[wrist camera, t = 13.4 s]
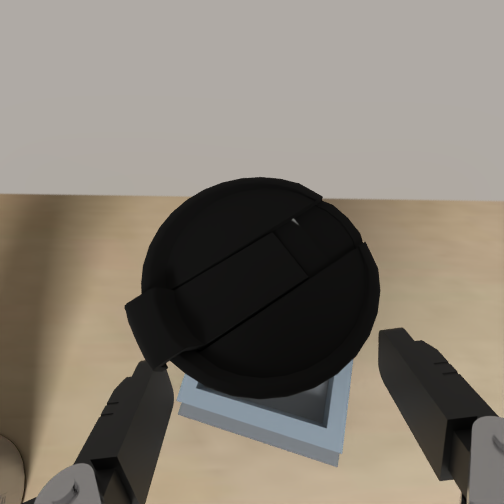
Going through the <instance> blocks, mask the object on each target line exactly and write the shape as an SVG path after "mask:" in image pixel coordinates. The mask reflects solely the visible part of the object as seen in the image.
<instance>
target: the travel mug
mask: <svg viewBox="0 0 504 504" xmlns="http://www.w3.org/2000/svg"><path fill="white" fill-rule="evenodd" d="M322 198H323V197H322V196H321V195H319V194H317V193H315V192H314V191H312V190H310V189H308V188H306V187H305V186H303V185H301V184H299V183H295V182H291V181H287V180H283V179H276V178H265V177H256V178H241V179H237V180H232V181H228V182H223V183H220V184H217V185H215V186H212V187H210V188H207V189H205V190H203V191H201V192H199V193H198V194H196V195H195V196H193V197H191V198H189V199H188V200H186V201H185V202H184V203H183V204H182V205H180V206H179V207H178V208H177V209H176V210H174V211H173V212H172V213H171V214H170V216H169V217H168V218H167V219H166V220H165V222H164V223H163V224H162V225H161V226H160V228H159V230H158V231H157V233H156V235H155V237H154V238H153V240H152V242H151V244H150V246H149V249H148V252H147V255H146V258H145V261H144V264H143V272H142V281H141V289H142V294H141V295H140V296H138V297H136V298H135V299H133V300H132V301H130V302H128V303H127V304H126V305H125V310H126V314H127V318H128V322H129V325H130V327H131V329H132V332H133V334H134V337H135V339H136V341H137V344H138V346H139V348H140V350H141V352H142V354H143V356H144V358H145V360H146V361H147V363H148V364H149V366H150V367H151V368H152V370H153V371H156V372H163V371H164V370H166V369H168V367H167V365H166V363H167V362H168V361H171V362H172V363H173V364H175V365H176V366H177V367H178V368H179V369H181V370H182V371H183V372H184V373H185V374H187V375H188V376H190V377H191V378H193V379H194V380H196V381H198V382H199V383H201V384H202V385H204V386H205V387H208V388H211V389H214V390H216V391H219V392H222V393H225V394H228V395H230V396H236V397H244V398H252V399H270V398H281V397H289V396H292V395H295V394H298V393H301V392H304V391H307V390H310V389H313V388H315V387H317V386H319V385H320V384H322V383H324V382H325V381H327V380H329V379H330V378H332V377H334V376H335V375H337V374H338V373H339V372H340V371H341V370H342V369H343V368H344V367H345V366H346V365H347V364H349V363H350V362H351V361H352V360H353V359H354V358H355V357H356V356H357V354H358V352H359V351H360V349H361V348H362V346H363V345H364V343H365V342H366V340H367V338H368V337H369V335H370V333H371V330H372V327H373V324H374V321H375V319H376V316H377V313H378V305H379V297H380V282H379V272H378V267H377V265H376V263H375V261H374V259H373V257H372V255H371V252H370V250H369V248H368V246H367V244H366V242H364V243H363V242H362V238H361V235H360V233H359V231H358V230H357V229H356V228H355V226H354V225H353V224H352V223H351V221H350V220H349V219H348V218H347V217H346V216H345V215H344V214H343V213H342V212H340V211H339V210H338V209H337V208H336V207H335V206H334V205H332V204H329V203H327V202H324V201H322Z"/></svg>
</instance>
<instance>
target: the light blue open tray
mask: <svg viewBox="0 0 504 504" xmlns="http://www.w3.org/2000/svg"><path fill="white" fill-rule="evenodd" d="M352 365H353V360H352V361H351V362H350V363H349V364H347V365H346V366H345V367H344V368H343V369H342V370H341V371H340V372H339V373H338V374H337V375H335V376H334V377H332V378H330V379H329V380H327V381H325V382H324V383H322V384H320V385H319V386H317V387H315V388H313V389H310V390H307V391H304V392H301V393H298V394H295V395H292V396H289V397H281V398H270V399H252V398H244V397H236V396H230V395H228V394H225V393H222V392H219V391H216V390H214V389H211V388H208V387H205V386H204V385H202V384H201V383H199V382H198V381H196V380H194V379H193V378H191V377H190V376H188V375H187V374H185V375H184V378H183V381H182V385H181V388H180V391H179V394H178V397H177V400H176V401H179V402H182V403H181V406H180V409H179V412H178V415H181V416H184V417H187V418H190V419H193V420H196V421H199V422H202V423H205V424H208V425H211V426H214V427H217V428H220V429H223V430H226V431H229V432H232V433H235V434H238V435H241V436H244V437H247V438H250V439H253V440H257V441H260V442H263V443H266V444H269V445H272V446H275V447H278V448H281V449H284V450H287V451H290V452H293V453H296V454H299V455H302V456H305V457H308V458H311V459H314V460H317V461H320V462H323V463H326V464H329V465H332V466H335V467H338V460H339V453H341V454H342V450H343V442H344V433H345V425H346V416H347V408H348V399H349V391H350V382H351V374H352Z"/></svg>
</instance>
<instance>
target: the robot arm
mask: <svg viewBox="0 0 504 504" xmlns="http://www.w3.org/2000/svg"><path fill="white" fill-rule="evenodd" d="M378 365H379V371H380V375H381V377H382V380H383V382H384V384H385V386H386V387H387V389H388V391H389V393H390V395H391V396H392V398H393V400H394V402H395V403H396V405H397V407H398V409H399V410H400V412H401V414H402V416H403V417H404V419H405V421H406V423H407V425H408V426H409V428H410V430H411V432H412V433H413V435H414V437H415V439H416V440H417V442H418V444H419V446H420V447H421V449H422V451H423V453H424V455H425V456H426V458H427V460H428V462H429V463H430V465H431V467H432V469H433V470H434V472H435V474H436V476H437V477H438V479H439V481H444V480H455V482H456V484H457V485H458V487H459V489H460V490H461V496H460V504H504V418H501V417H499V416H498V415H497V414H496V413H495V412H494V411H493V410H492V409H491V408H490V407H489V406H488V404H487V403H486V402H485V401H484V400H483V399H482V398H481V397H480V396H479V395H478V394H477V393H476V391H475V390H474V389H473V388H472V387H471V386H470V385H469V384H468V383H467V382H466V381H465V379H464V378H463V377H462V376H461V375H460V374H458V373H457V371H456V370H455V369H454V367H453V366H452V365H451V364H449V363H448V361H447V360H446V359H445V358H444V357H443V355H442V354H441V353H440V352H439V351H438V350H437V349H435V348H434V347H432V346H430V345H429V344H427V343H425V342H424V341H422V340H420V341H414V340H413V339H412V338H411V336H410V335H409V334H408V333H407V332H406V330H405V329H403V328H394V329H386V330H380V331H379V347H378ZM173 403H174V393H173V388H172V385H171V382H170V379H169V376H168V373H167V370H164V371H163V372H156V371H153V370H152V368H151V367H150V366H149V364H148V363H147V361H146V360H144V361H140V362H139V363H138V365H137V367H136V369H135V371H134V373H133V375H132V377H126V378H125V379H124V380H123V381H122V382H121V383H120V384H119V385H118V386H117V387H116V389H115V390H114V391H113V393H112V395H111V397H110V399H109V400H108V402H107V406H105V408H104V410H103V411H102V413H101V417H99V419H98V421H97V422H96V424H95V426H94V428H93V430H92V432H91V433H90V435H89V437H88V439H87V441H86V443H85V444H84V446H83V448H82V450H81V452H80V454H79V455H78V457H77V459H76V461H75V463H74V464H73V465H72V466H70V467H67V468H66V469H64V470H62V471H61V472H59V473H58V474H56V475H55V476H54V477H53V478H52V479H51V480H50V481H49V482H48V483H47V484H46V485H45V486H44V487H43V489H42V490H41V492H40V493H39V495H38V496H37V497H36V498H33V499H31V500H29V501H26V502H24V503H22V504H145V502H146V498H147V495H148V492H149V488H150V485H151V481H152V478H153V474H154V471H155V467H156V464H157V460H158V457H159V453H160V450H161V446H162V443H163V439H164V436H165V433H166V429H167V426H168V422H169V419H170V415H171V412H172V408H173ZM24 478H25V475H24V467H23V462H22V459H21V456H20V453H19V451H18V450H17V448H16V447H15V445H14V444H13V443H12V442H11V441H9V440H8V439H7V438H5V437H3V436H0V504H21V501H22V496H23V491H24Z"/></svg>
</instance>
